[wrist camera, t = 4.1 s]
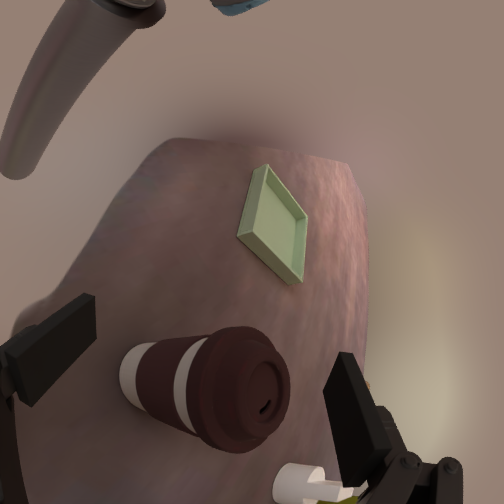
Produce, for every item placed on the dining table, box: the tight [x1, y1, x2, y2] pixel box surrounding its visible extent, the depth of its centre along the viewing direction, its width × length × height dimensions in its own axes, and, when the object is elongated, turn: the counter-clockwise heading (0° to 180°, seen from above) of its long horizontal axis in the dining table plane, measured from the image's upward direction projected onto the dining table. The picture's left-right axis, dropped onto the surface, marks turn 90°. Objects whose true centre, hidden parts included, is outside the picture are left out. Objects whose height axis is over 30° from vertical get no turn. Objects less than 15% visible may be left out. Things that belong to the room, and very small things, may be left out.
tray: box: [237, 164, 308, 285], centre depth 54 cm, size 16×16×3 cm
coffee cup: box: [119, 326, 290, 454], centre depth 23 cm, size 10×10×15 cm
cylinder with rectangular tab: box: [272, 463, 354, 504], centre depth 37 cm, size 9×9×12 cm
